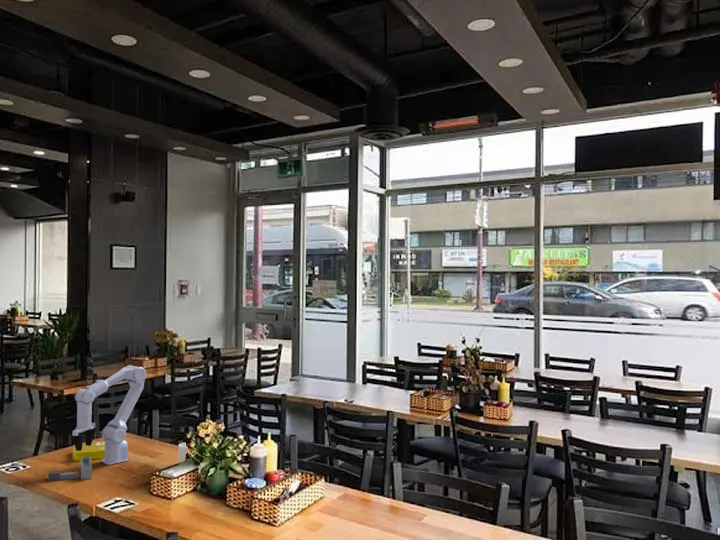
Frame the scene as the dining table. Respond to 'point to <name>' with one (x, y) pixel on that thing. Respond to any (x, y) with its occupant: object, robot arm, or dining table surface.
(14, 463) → the dining table surface
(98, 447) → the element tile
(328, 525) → the dining table surface
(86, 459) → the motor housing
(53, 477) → the plug
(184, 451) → the white cup
